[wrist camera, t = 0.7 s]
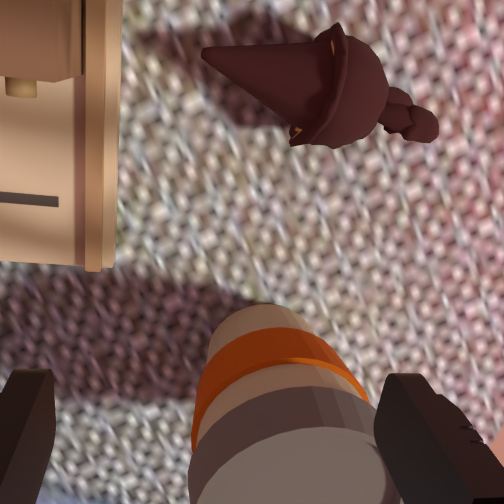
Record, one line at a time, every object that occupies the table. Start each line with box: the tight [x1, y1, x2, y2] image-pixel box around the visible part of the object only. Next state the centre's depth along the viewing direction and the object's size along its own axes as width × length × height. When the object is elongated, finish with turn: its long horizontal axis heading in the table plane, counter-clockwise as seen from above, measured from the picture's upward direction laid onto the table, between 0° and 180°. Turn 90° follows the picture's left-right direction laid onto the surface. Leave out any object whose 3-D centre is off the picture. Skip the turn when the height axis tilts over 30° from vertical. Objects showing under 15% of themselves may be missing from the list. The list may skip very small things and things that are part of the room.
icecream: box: [201, 22, 439, 149], centre depth 28 cm, size 7×7×15 cm
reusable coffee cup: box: [188, 304, 404, 504], centre depth 32 cm, size 13×13×15 cm
